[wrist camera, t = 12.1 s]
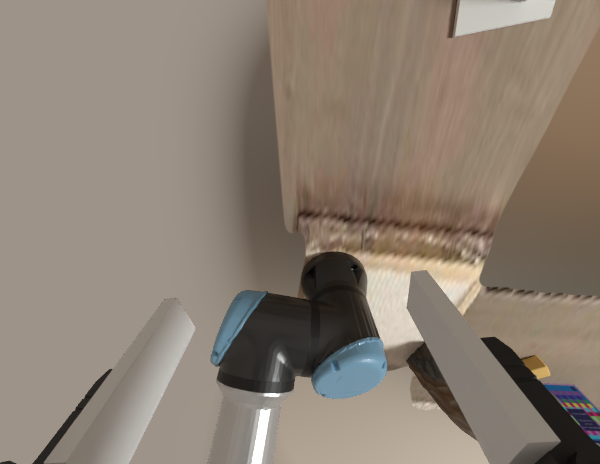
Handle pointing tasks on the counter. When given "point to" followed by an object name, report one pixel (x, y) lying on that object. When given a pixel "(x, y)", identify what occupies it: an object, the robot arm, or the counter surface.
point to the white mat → (497, 14)
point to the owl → (437, 386)
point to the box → (578, 408)
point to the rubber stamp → (538, 369)
